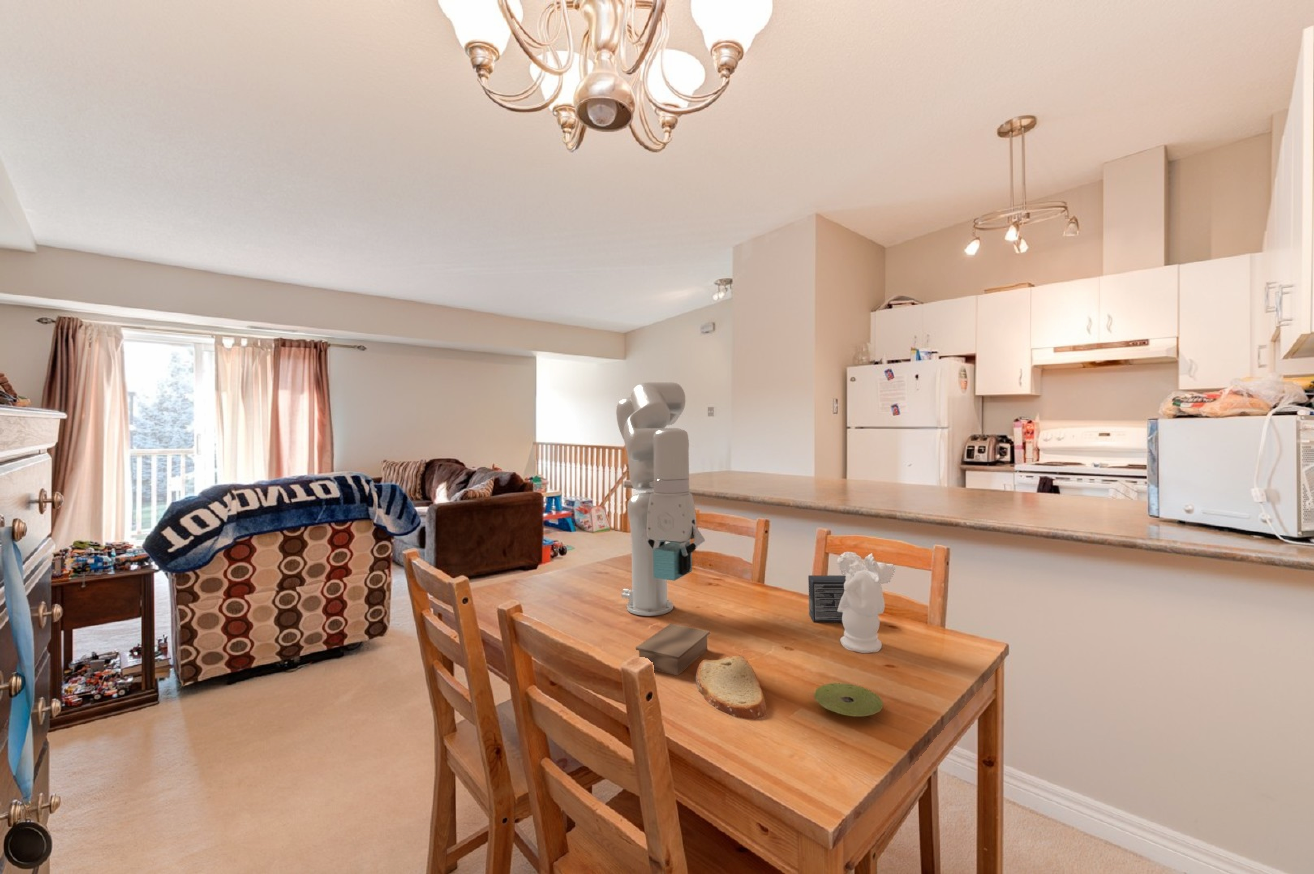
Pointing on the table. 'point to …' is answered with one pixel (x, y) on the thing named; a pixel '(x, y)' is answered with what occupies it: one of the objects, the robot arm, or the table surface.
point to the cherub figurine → (862, 601)
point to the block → (668, 561)
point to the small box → (825, 597)
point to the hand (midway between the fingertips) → (673, 570)
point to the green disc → (848, 699)
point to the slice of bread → (731, 687)
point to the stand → (674, 648)
